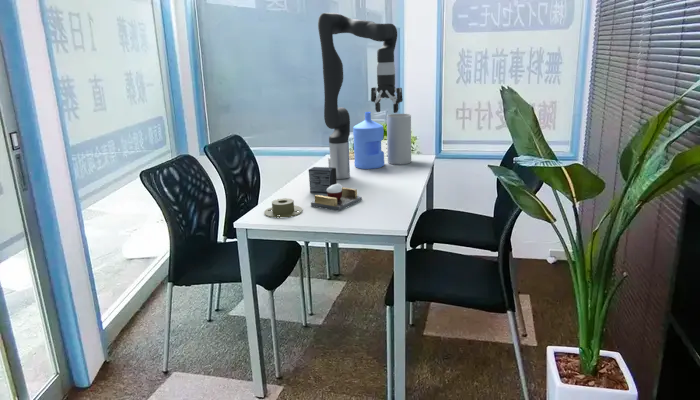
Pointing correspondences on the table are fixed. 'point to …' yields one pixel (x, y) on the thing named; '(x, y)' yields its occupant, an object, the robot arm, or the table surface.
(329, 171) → the small box
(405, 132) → the cylinder vase
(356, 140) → the water jug
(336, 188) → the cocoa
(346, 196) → the plate
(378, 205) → the table surface
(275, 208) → the flange
